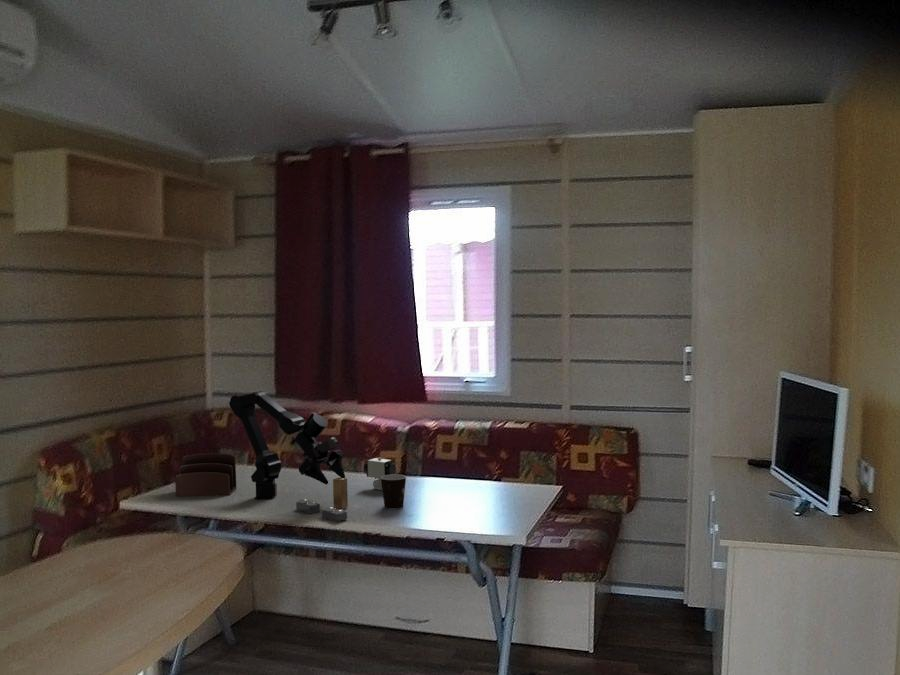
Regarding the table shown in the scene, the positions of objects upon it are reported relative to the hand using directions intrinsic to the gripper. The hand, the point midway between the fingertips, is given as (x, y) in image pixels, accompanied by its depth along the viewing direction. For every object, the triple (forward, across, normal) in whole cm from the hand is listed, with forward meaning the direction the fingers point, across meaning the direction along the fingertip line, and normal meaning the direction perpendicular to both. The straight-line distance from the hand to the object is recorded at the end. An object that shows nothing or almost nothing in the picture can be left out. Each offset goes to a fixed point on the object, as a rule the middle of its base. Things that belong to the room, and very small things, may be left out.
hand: (336, 480), depth 267 cm
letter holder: (-34, -5, +47) cm, 58 cm away
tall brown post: (+8, 0, +5) cm, 9 cm away
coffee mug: (+18, +9, -5) cm, 21 cm away
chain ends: (+7, -9, +6) cm, 13 cm away
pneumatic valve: (+5, +29, +8) cm, 30 cm away
